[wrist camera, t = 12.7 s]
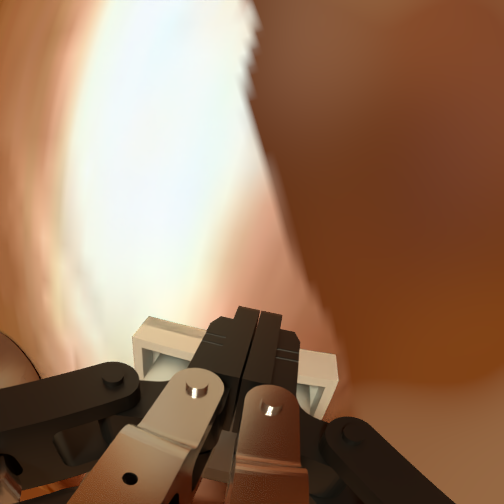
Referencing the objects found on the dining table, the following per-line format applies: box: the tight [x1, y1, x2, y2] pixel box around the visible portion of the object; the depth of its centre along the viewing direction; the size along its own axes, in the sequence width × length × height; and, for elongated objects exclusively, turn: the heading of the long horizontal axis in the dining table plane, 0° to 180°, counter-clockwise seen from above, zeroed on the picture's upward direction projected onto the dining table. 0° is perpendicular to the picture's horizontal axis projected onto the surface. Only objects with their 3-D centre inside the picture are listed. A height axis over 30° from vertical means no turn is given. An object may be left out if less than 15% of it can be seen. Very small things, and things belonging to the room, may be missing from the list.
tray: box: [132, 316, 339, 483], centre depth 18 cm, size 12×10×7 cm
